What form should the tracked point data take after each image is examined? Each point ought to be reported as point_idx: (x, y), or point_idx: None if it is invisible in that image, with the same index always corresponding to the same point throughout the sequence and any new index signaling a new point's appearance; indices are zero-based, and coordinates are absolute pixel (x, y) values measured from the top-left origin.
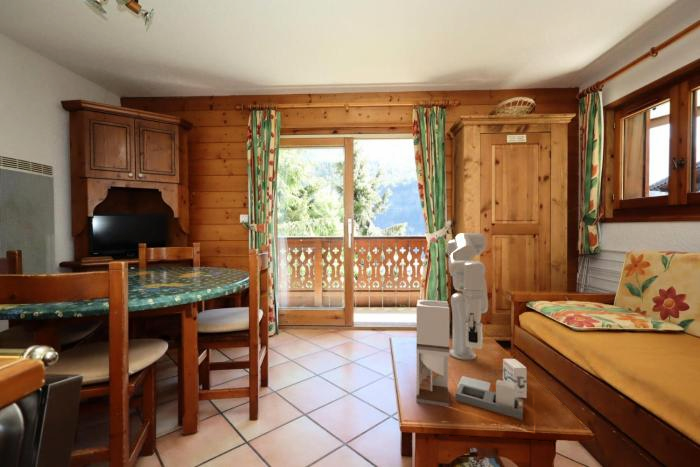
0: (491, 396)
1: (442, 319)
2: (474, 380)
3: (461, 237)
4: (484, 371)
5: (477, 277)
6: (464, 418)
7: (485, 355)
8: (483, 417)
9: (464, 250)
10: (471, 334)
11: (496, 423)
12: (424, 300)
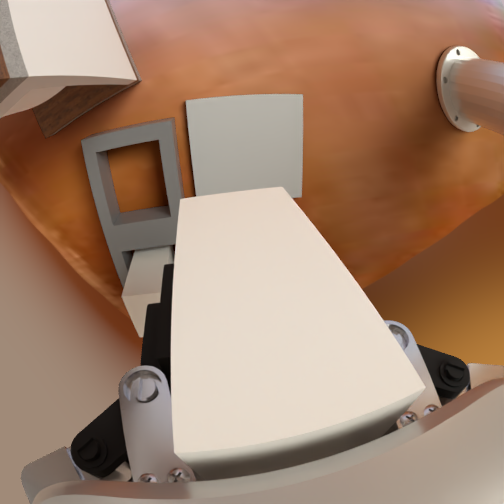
0: (152, 241)
1: None
2: (288, 143)
3: None
4: (387, 161)
5: None
6: (38, 192)
7: (478, 157)
8: (78, 227)
9: None
10: (144, 361)
11: (81, 258)
12: None
